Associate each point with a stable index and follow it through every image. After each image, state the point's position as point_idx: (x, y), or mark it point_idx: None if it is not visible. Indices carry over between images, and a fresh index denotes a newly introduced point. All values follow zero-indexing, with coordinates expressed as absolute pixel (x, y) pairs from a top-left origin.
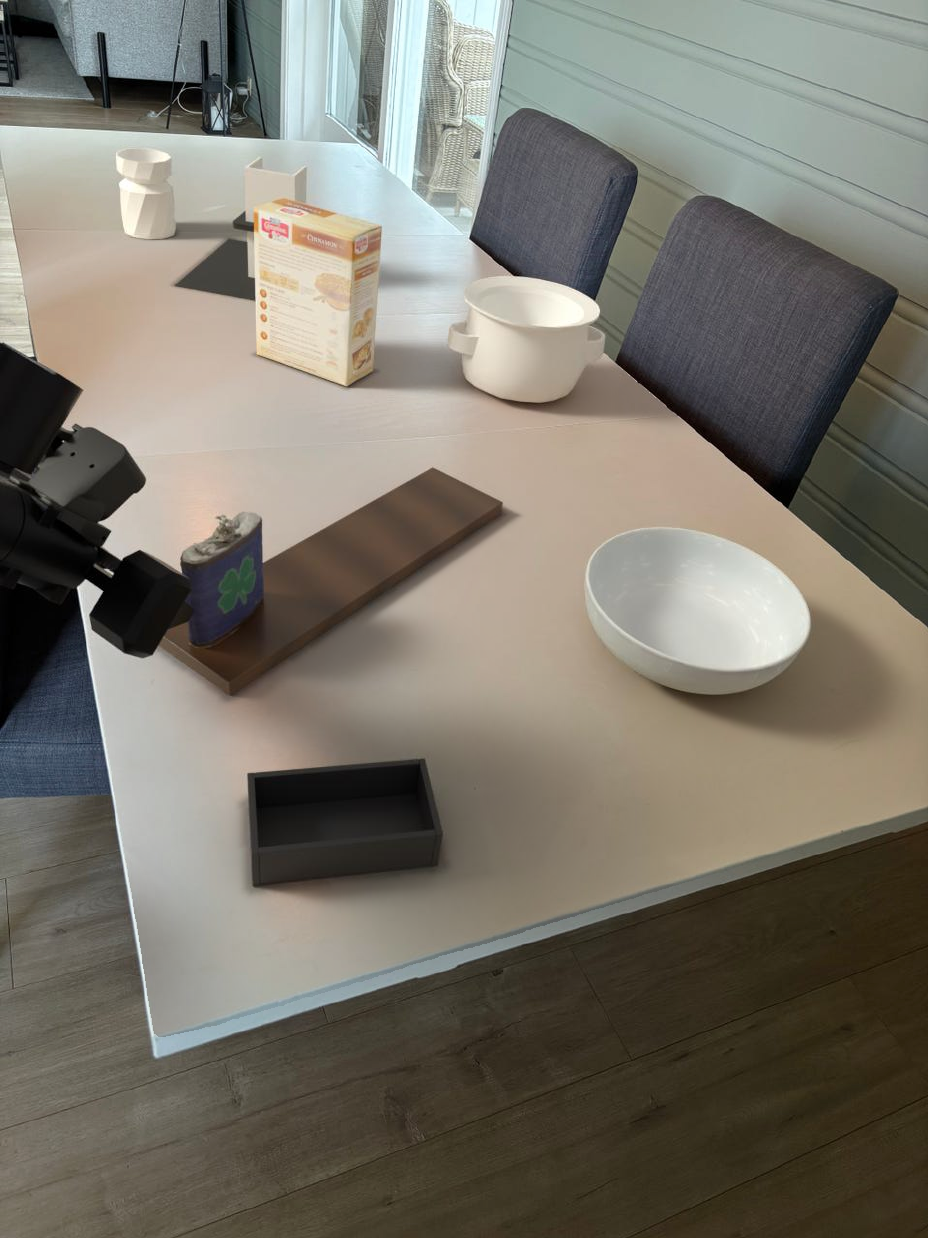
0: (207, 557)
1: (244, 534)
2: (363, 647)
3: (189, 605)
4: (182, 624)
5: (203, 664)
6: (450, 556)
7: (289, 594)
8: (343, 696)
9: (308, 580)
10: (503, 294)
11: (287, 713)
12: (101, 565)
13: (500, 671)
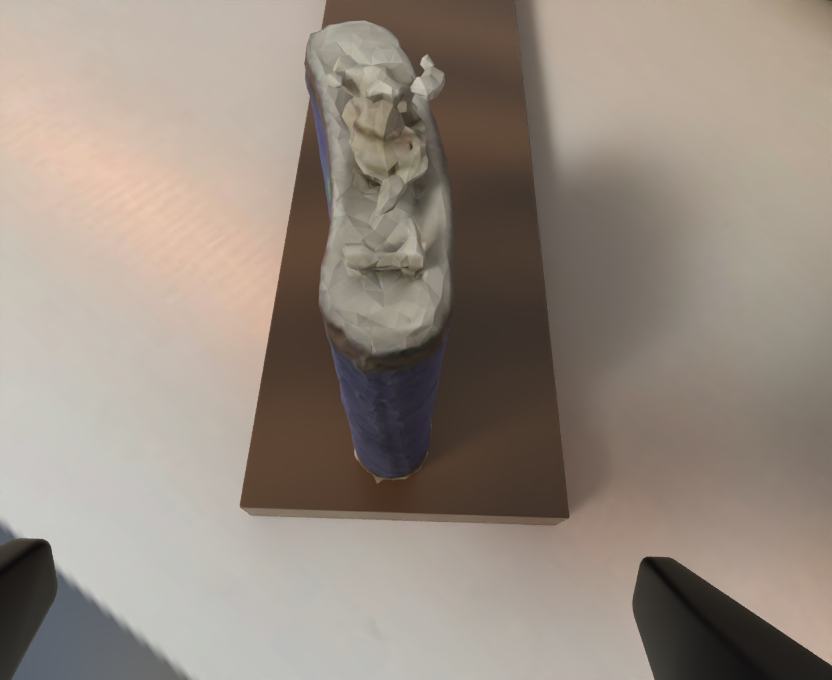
0: (444, 275)
1: (419, 106)
2: (614, 235)
3: (754, 614)
4: (306, 438)
5: (466, 512)
6: (522, 2)
7: None
8: (710, 357)
9: None
10: None
11: (686, 474)
12: (13, 649)
13: (810, 147)
